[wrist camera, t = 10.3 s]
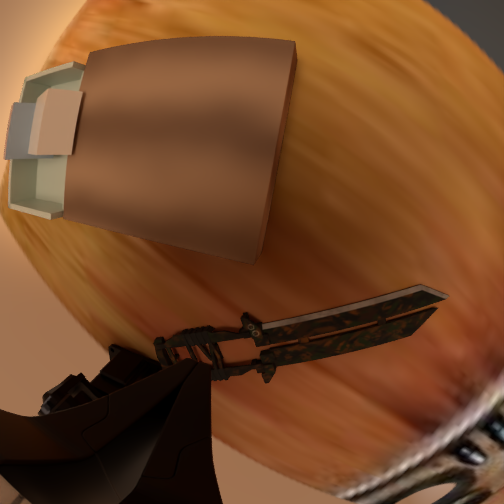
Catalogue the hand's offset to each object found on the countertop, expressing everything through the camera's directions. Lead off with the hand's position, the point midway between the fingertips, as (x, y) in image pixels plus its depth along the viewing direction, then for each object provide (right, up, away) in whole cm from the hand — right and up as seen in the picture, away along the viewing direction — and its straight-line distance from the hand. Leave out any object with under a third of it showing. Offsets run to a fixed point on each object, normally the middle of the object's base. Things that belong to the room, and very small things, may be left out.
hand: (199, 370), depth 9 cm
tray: (-16, +14, +12) cm, 25 cm away
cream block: (-13, +14, +9) cm, 22 cm away
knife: (+5, -2, +13) cm, 14 cm away
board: (-4, +12, +10) cm, 16 cm away
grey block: (-17, +14, +8) cm, 24 cm away
